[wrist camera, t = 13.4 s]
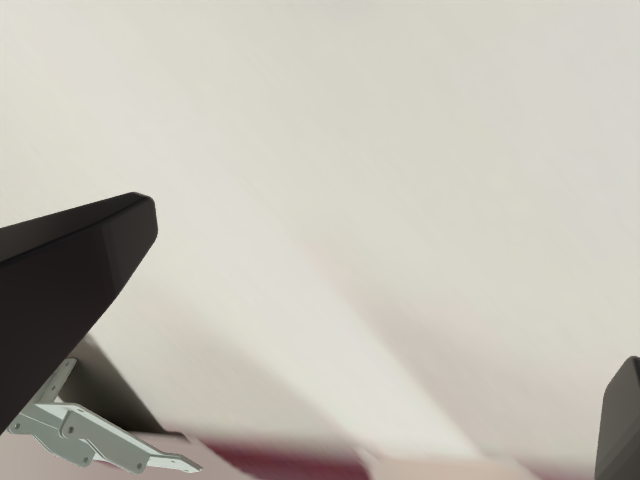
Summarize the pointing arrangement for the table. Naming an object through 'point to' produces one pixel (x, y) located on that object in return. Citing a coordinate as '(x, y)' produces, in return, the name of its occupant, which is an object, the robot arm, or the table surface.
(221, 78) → the table surface
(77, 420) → the metal bracket
